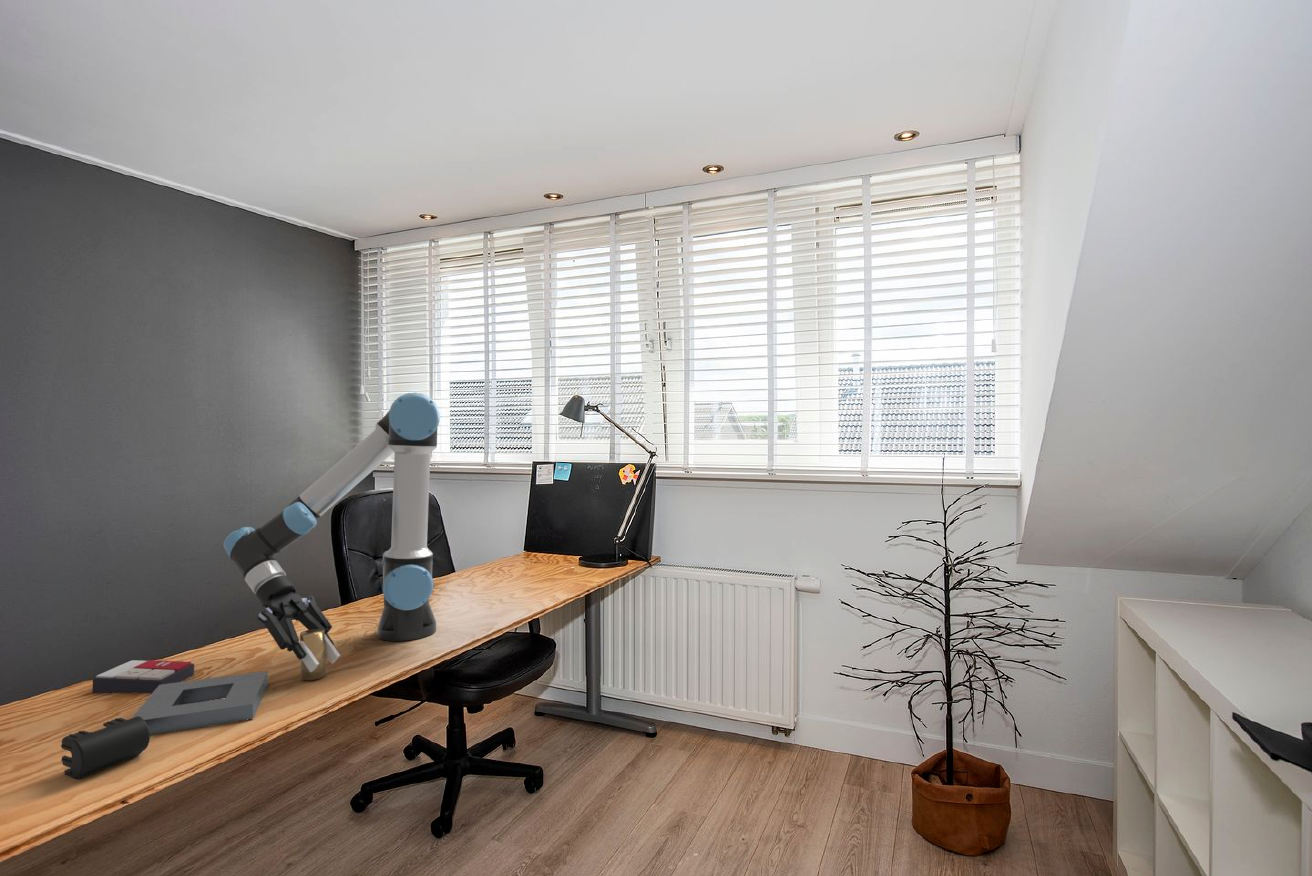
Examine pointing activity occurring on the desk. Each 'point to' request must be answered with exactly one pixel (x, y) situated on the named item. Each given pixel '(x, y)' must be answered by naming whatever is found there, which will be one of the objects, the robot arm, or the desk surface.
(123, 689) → the calculator
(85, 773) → the end cap
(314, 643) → the metal cylinder
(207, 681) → the frame
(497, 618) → the desk surface
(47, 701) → the desk surface
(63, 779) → the desk surface
